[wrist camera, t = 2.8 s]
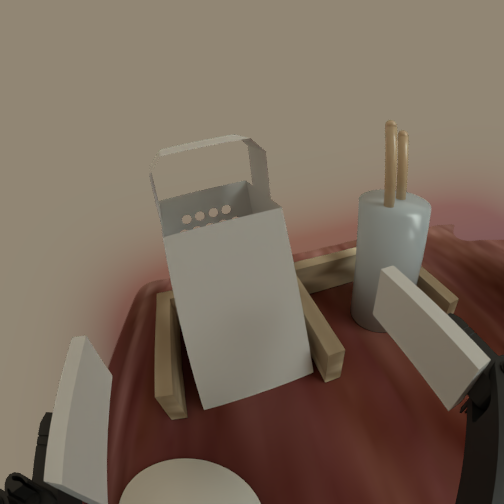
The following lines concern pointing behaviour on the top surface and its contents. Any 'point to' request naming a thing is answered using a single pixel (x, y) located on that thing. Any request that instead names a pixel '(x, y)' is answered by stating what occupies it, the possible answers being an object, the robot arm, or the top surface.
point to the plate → (188, 485)
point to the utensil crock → (388, 231)
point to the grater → (235, 284)
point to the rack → (318, 330)
